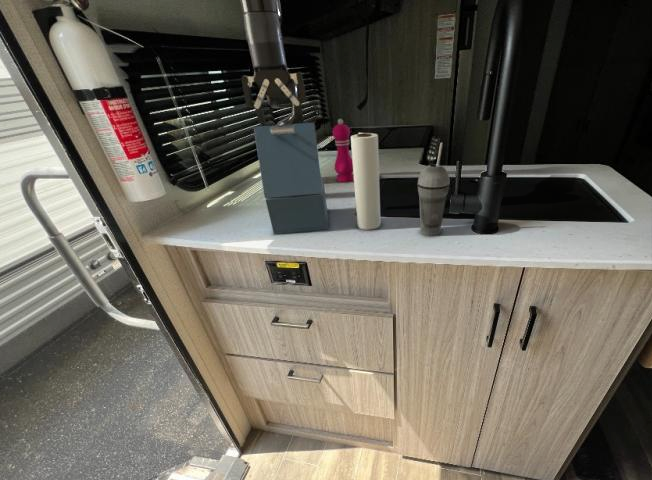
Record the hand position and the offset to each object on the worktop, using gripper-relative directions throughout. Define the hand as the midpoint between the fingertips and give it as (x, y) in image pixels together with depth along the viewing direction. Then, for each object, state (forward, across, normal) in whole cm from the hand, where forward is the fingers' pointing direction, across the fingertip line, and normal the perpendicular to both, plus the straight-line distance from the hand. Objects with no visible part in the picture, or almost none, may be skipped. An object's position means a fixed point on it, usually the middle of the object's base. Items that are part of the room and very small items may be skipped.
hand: (281, 124), depth 80 cm
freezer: (+23, -2, +7) cm, 24 cm away
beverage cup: (+23, -34, +22) cm, 46 cm away
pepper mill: (+24, -16, -30) cm, 41 cm away
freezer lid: (+6, -2, +11) cm, 12 cm away
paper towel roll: (+23, -20, +14) cm, 33 cm away
